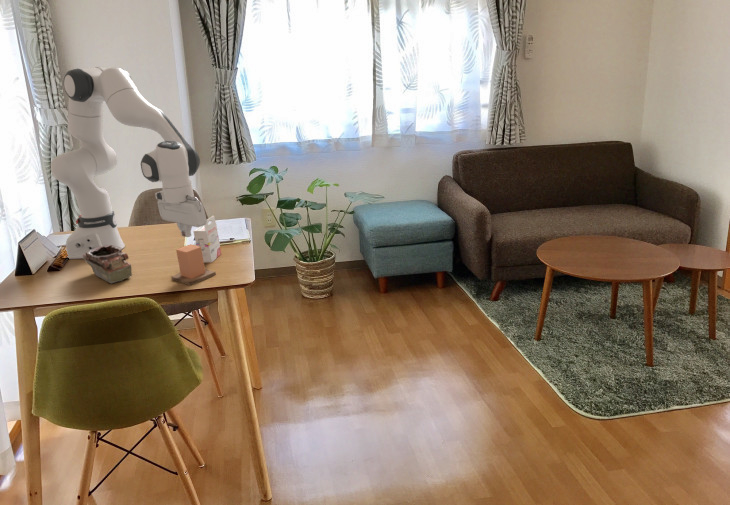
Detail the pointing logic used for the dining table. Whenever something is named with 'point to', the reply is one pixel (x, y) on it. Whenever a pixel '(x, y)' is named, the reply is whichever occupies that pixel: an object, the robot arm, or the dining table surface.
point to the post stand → (193, 280)
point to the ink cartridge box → (208, 240)
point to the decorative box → (109, 263)
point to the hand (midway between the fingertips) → (186, 236)
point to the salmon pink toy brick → (190, 261)
